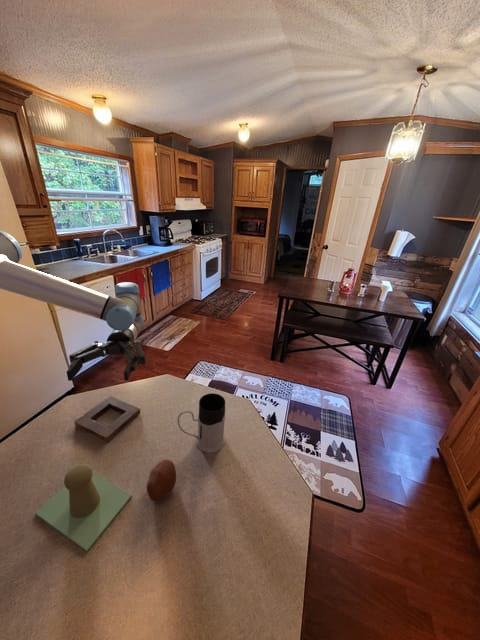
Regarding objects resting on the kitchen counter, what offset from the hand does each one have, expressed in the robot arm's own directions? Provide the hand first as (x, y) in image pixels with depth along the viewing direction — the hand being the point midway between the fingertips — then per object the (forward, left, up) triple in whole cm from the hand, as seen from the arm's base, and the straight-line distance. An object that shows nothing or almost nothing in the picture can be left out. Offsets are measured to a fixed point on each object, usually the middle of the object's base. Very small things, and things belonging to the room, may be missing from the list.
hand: (97, 376), depth 65 cm
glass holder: (+24, +12, -24) cm, 36 cm away
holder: (-7, +6, -24) cm, 26 cm away
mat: (+9, -15, -24) cm, 29 cm away
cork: (+9, -15, -23) cm, 29 cm away
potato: (+22, -4, -24) cm, 33 cm away
